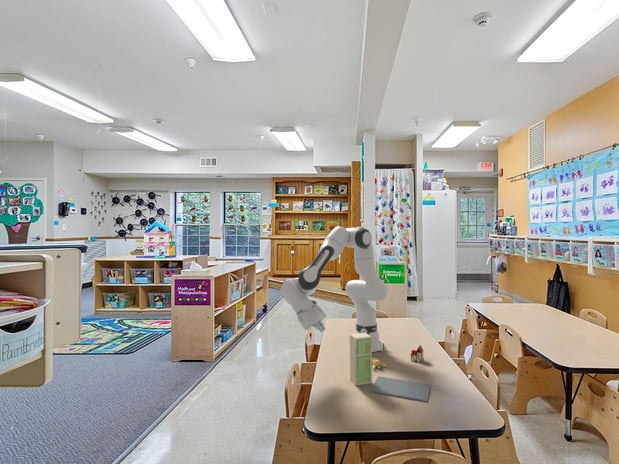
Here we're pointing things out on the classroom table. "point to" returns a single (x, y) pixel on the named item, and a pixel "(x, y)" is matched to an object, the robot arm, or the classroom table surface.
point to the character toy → (377, 363)
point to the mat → (401, 388)
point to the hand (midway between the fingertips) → (323, 330)
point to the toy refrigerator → (360, 359)
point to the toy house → (417, 355)
